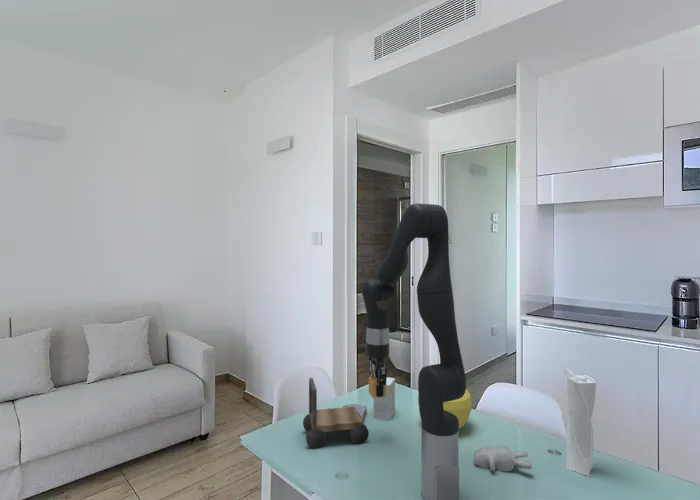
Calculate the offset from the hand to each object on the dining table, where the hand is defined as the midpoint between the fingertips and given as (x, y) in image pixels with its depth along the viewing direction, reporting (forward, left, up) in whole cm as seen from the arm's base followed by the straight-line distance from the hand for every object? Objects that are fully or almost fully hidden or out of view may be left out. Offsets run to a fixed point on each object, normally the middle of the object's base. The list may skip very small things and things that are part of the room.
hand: (377, 393), depth 127 cm
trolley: (+5, +13, -16) cm, 21 cm away
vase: (+5, -26, -16) cm, 31 cm away
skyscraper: (-27, -52, -16) cm, 61 cm away
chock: (0, 0, 0) cm, 0 cm away
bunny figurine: (-21, -31, -16) cm, 41 cm away
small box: (+18, -8, -16) cm, 25 cm away
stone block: (+18, +5, -16) cm, 25 cm away
